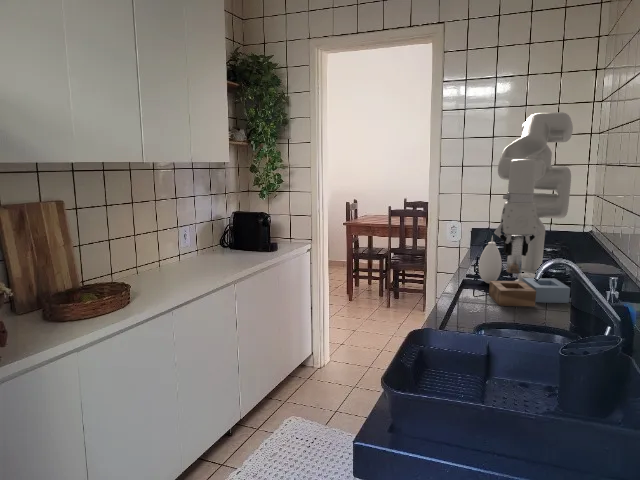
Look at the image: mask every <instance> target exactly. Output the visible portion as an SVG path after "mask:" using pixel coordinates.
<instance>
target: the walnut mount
mask: <svg viewBox="0 0 640 480" xmlns="http://www.w3.org/2000/svg"><path fill="white" fill-rule="evenodd" d="M488 296H489V297H490V298H491V299H492V300H493V301H494V302H495V303H496V304H497V305H498V306H500V307H536V302H535V299H536V291H535V290H534V289H533V288H531V287H530V286H528V285H527V284H526V283H524V282H523V281H515V280H496V281H490V284H489V288H488Z"/></svg>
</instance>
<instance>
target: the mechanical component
mask: <svg viewBox="0 0 640 480" xmlns="http://www.w3.org/2000/svg"><path fill="white" fill-rule="evenodd" d="M534 277H535V274H533V273H522V272H521V273H519V274H518V278H517V279H515V280H514V281H522V280H523V278H534Z"/></svg>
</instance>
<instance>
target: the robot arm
mask: <svg viewBox="0 0 640 480" xmlns="http://www.w3.org/2000/svg"><path fill="white" fill-rule="evenodd" d="M573 127H574V125H573V122H572V118H571V116H570V115H569V114H568V113H567V112H537V113H534V114H530V116H528V117H527V118H526V121H525V122H523V123H522V126H521V137H520V138H517V139H516V140H514V141H512V143H509V144H508V145H507V146H506V147H505V148H504V149H503V150H502V153H501V155H500V159H499V162H498V165H497V175H498V177H499V178H500V179H501V180H504V181H508V184H507V185H508V187H507V192H506V194H503V195H502V200H506V202H504V205H503V208H502V213H501V217H500V224H499V225H498V226H497V228H496V229H495V230H494V234H495V235H496V236H497V237H499V238H500V240H502V241H503V253H504V255H506V256H507V257H508V256H510V251H511V244H510V239H511V236H512V235H523V236H524V245H523V256H522V267H521V273H522V272H524V273H533V274H535V273H536V271H537V269H538V268H539V267H540V265H541V264H542V265H543V259H544V258H543V256H544V248H545V247H544V246H545V238H546V226H545V224H544V223H543V222H542V221H541V218H543V219H556V220H557V219H558V220H561V219H564V218H565V217H566V216H567V214H568V211H569V207H570V206H569V205H570V196H571V195H570V194H571V185H572V184H571V183H572V171H571V169H570V168H569V167H567V166H566V165H565V166H564V165H552V158H553V157H552V156H553V152H552V150H551V148H550V147H549V145H548V143H566V142H568V141H570V139H571V138H572V135H573V131H574V128H573ZM535 190H539V191H541V190H542V191H554V192H556V193H542V192H541V193H540V192H535ZM503 233H504V234H503Z"/></svg>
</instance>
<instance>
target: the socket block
mask: <svg viewBox="0 0 640 480" xmlns="http://www.w3.org/2000/svg"><path fill="white" fill-rule="evenodd" d="M522 281H523V282H524V283H526V284H527V285H528V286H530V287H531V288H533V289H534V290H535V291H536V299H535V303H553V304H554V303H557V304H559V303H562V304H565V303H566V304H569V303H570V295H571V287H569V286H568V285H566V284H565V283H563V282H561V281H560V280H558V279H557V278H553V277H552V278H551V277H550V278H547V277H546V278H542V277H541V278H540V279H539V280H538V281H536V280H535V279H534V278H523V280H522Z"/></svg>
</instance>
